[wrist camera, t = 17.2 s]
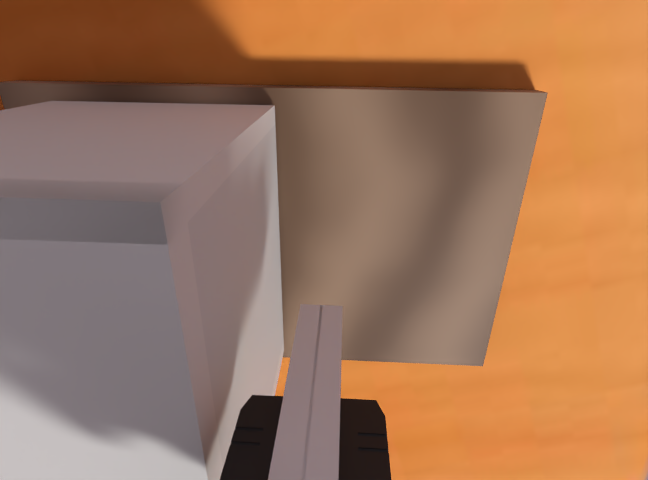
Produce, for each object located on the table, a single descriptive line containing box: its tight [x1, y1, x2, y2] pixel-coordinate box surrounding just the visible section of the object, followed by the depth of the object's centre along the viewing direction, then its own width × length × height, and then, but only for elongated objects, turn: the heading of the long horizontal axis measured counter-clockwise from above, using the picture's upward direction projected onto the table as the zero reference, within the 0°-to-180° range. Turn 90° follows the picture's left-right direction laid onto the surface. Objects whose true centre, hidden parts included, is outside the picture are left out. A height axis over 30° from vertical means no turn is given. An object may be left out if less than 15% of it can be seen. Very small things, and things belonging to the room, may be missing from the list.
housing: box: [0, 101, 284, 480], centre depth 15 cm, size 10×14×12 cm
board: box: [0, 80, 547, 366], centre depth 21 cm, size 24×15×2 cm, turn 89°
